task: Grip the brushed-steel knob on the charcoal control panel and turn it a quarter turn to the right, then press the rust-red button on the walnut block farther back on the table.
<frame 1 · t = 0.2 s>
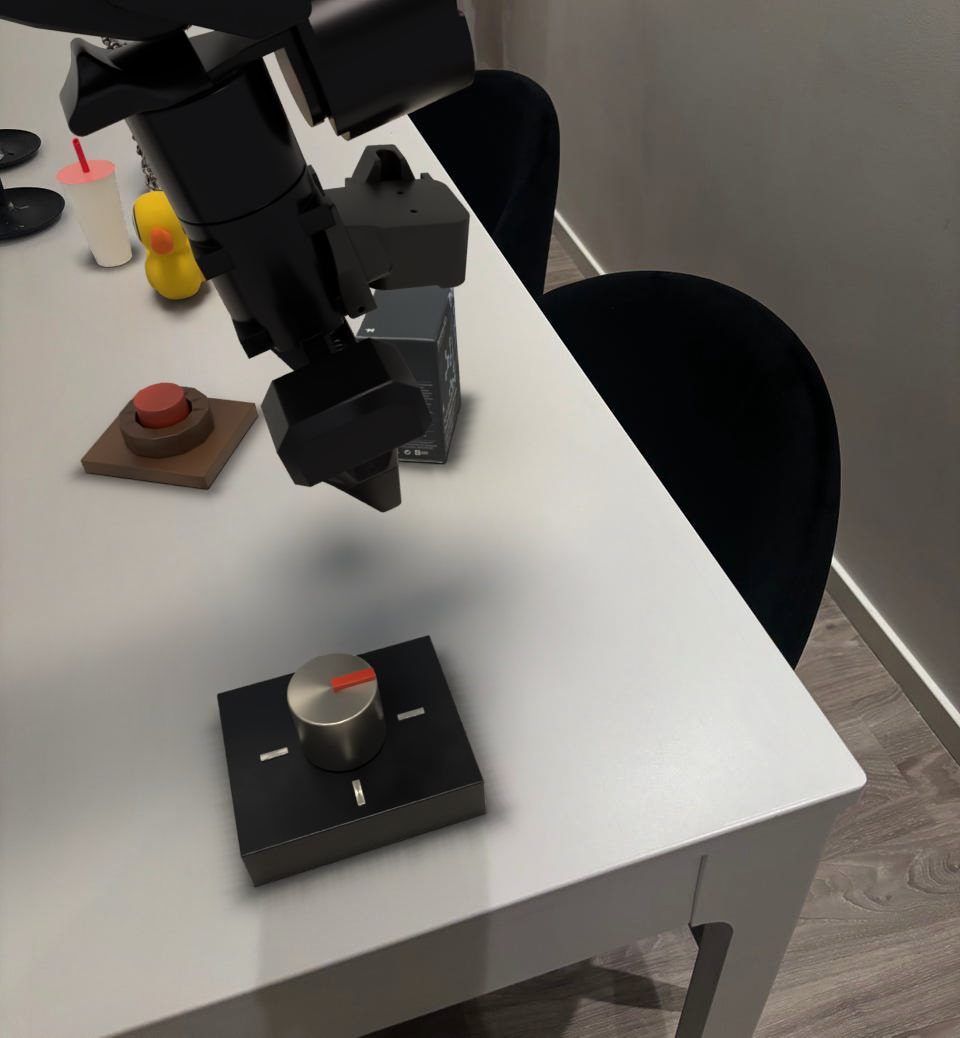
hand: (366, 451, 51), 13 cm above the table, tool pointing down, fingers open, 9 cm apart
duckling: (183, 294, 90), on the table
decorative candle: (188, 190, 107), on the table
panel: (352, 767, 52), on the table
button block: (174, 442, 73), on the table
cup: (115, 260, 96), on the table
box: (419, 431, 73), on the table
knob: (337, 709, 48), point 5 cm above the table, hinge at 0.0°
button: (161, 406, 71), point 3 cm above the table, slide at 0.1 cm
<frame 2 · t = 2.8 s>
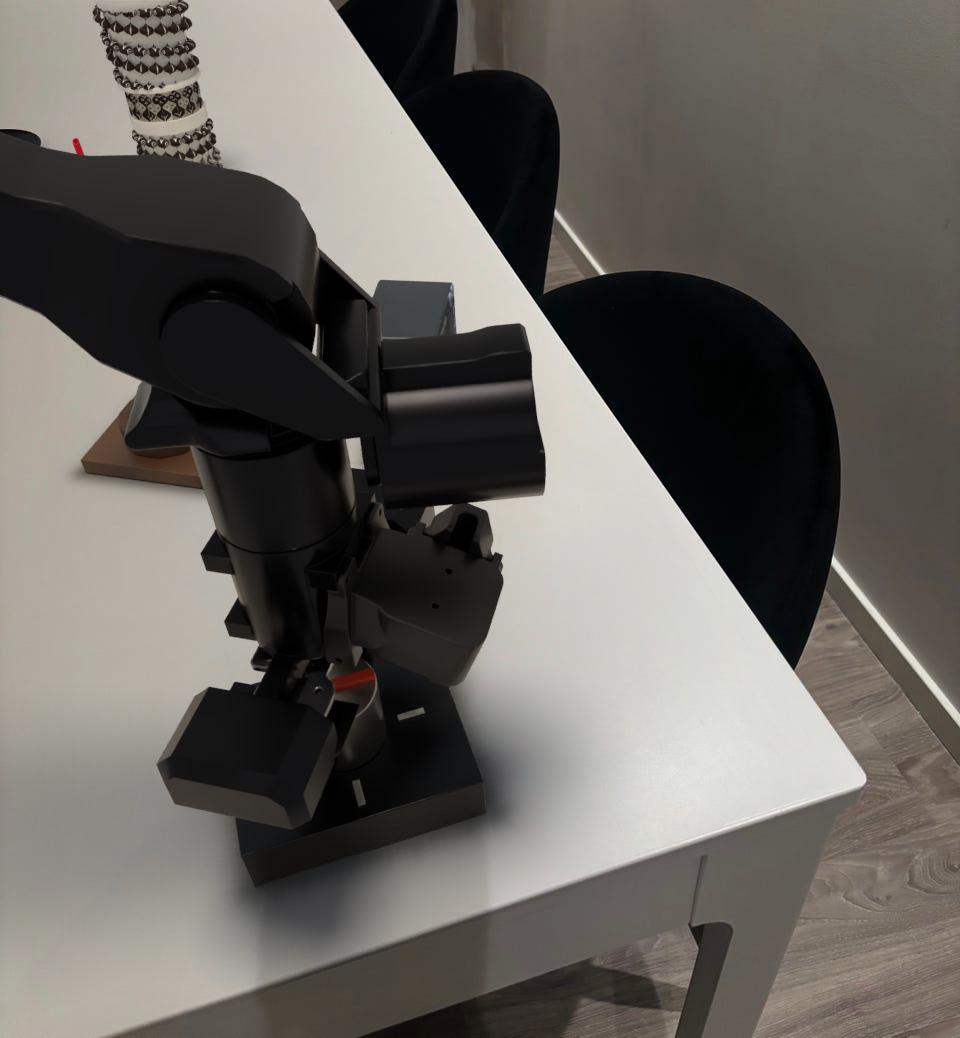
hand: (341, 729, 49), 4 cm above the table, tool pointing down, fingers closed on knob, 4 cm apart
knob: (337, 709, 48), point 5 cm above the table, hinge at 0.0°, touching gripper
everything else where it was.
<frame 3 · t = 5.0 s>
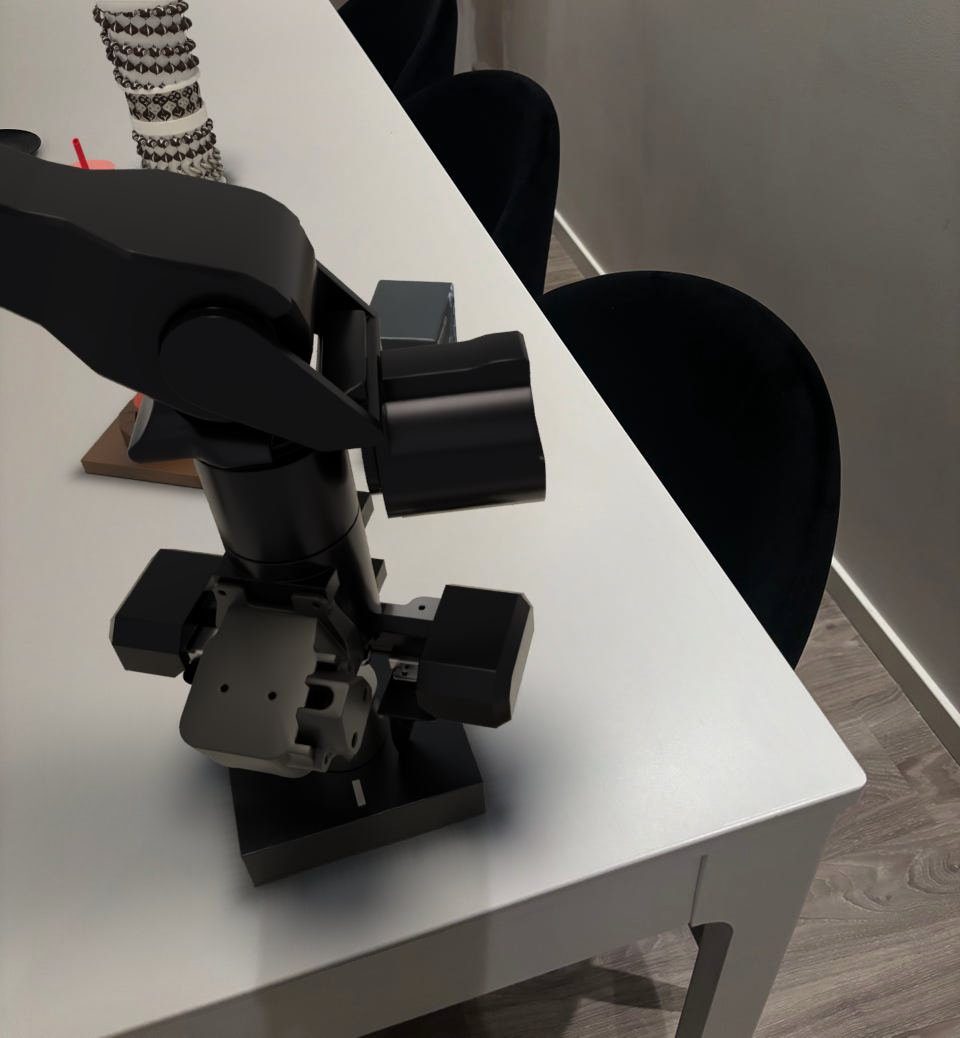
hand: (351, 736, 50), 3 cm above the table, tool pointing down, fingers open, 5 cm apart
knob: (337, 709, 48), point 5 cm above the table, hinge at -90.6°, touching gripper
everything else where it was.
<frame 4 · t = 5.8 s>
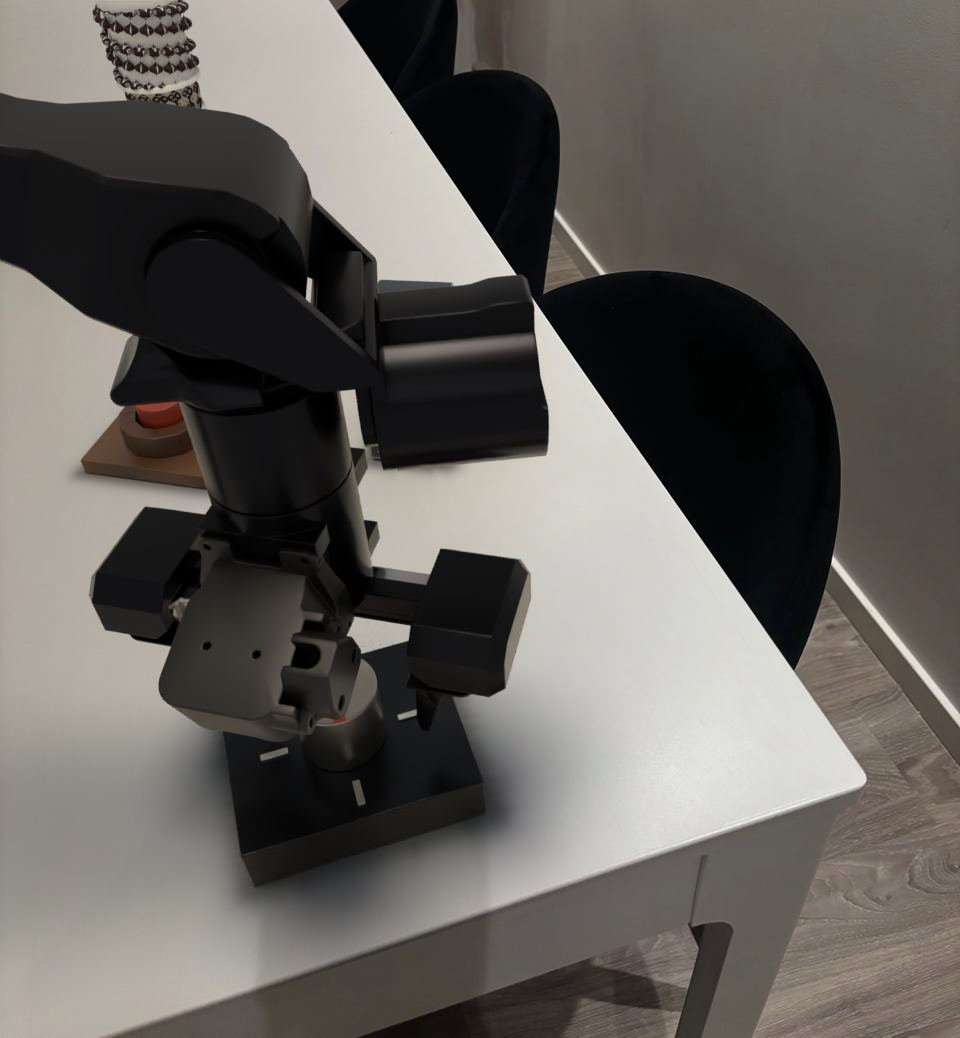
hand: (339, 707, 48), 5 cm above the table, tool pointing down, fingers open, 9 cm apart
knob: (337, 709, 48), point 5 cm above the table, hinge at -90.7°
everything else where it was.
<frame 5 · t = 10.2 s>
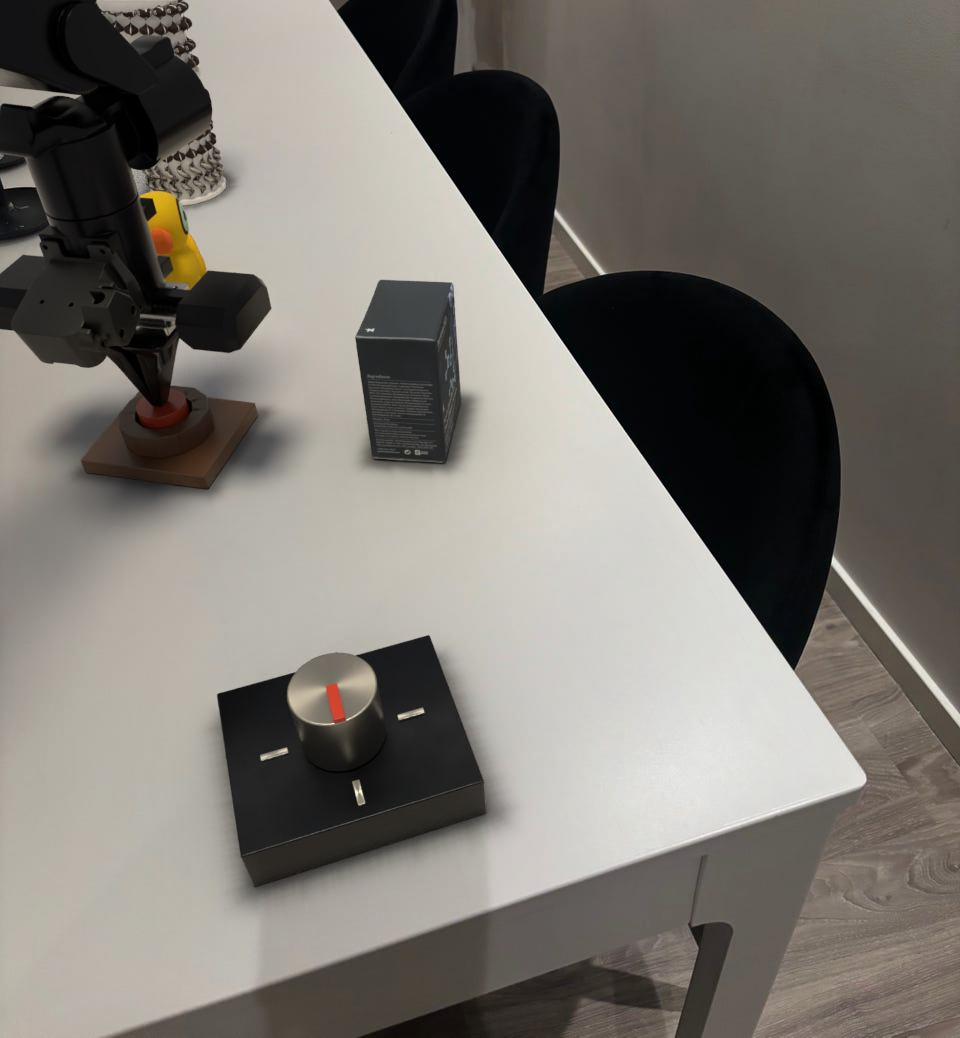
hand: (160, 403, 71), 4 cm above the table, tool pointing down, fingers closed, pressing on button
button: (164, 412, 71), point 3 cm above the table, slide at -0.5 cm, touching gripper
everything else where it was.
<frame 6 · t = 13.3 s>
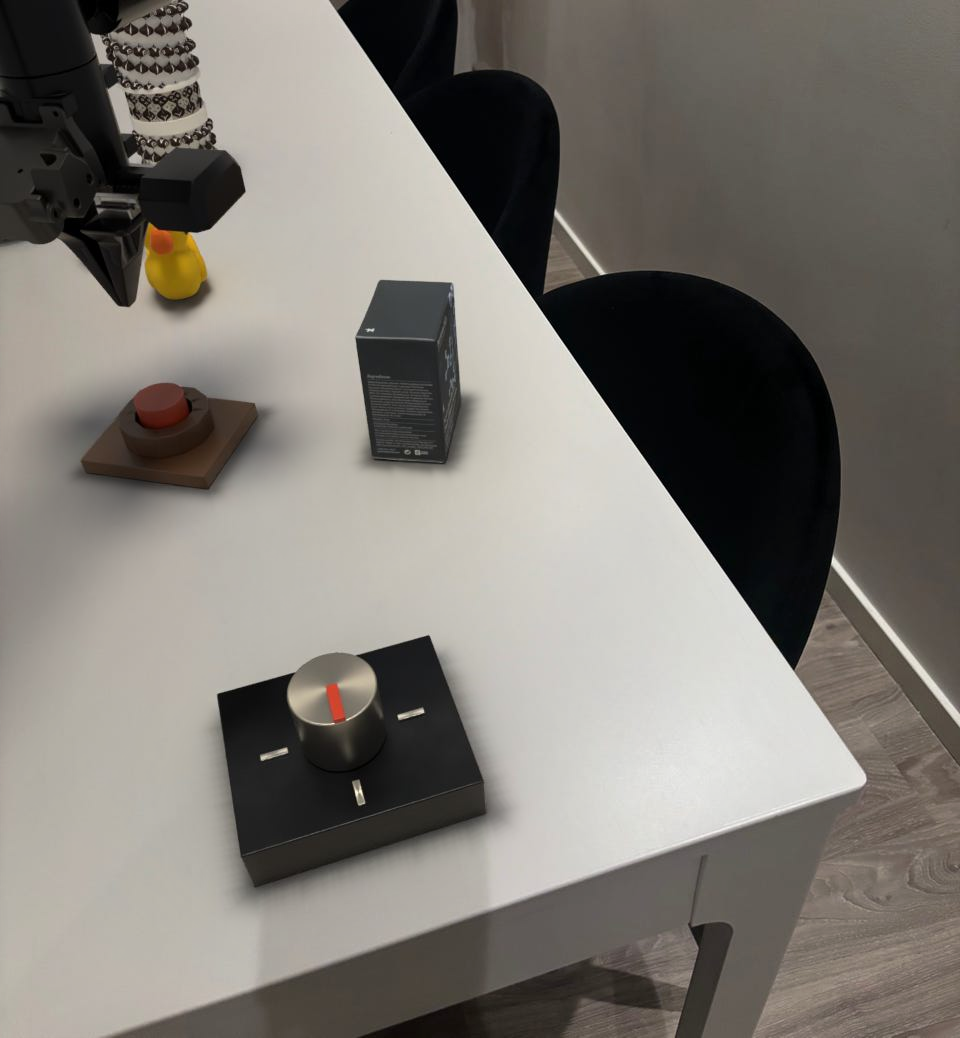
hand: (127, 304, 65), 12 cm above the table, tool pointing down, fingers closed
button: (161, 406, 71), point 3 cm above the table, slide at 0.1 cm
everything else where it was.
at the end: knob at -91° (first picture: +0°); button pushed in 1.1 cm at the most during the clip, back to where it started at the end; button slide at 0.1 cm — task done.
